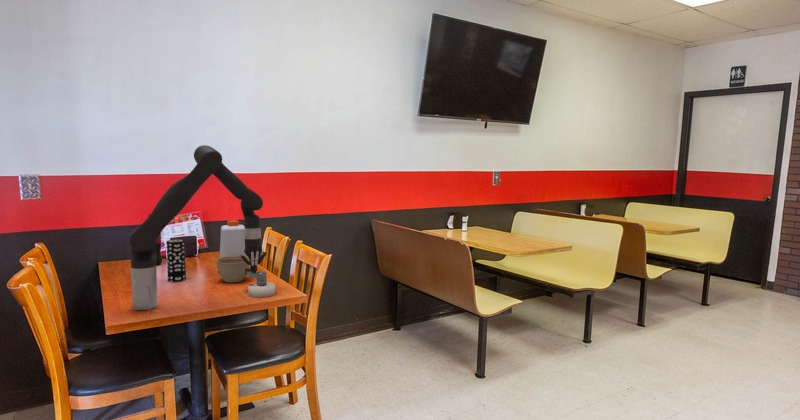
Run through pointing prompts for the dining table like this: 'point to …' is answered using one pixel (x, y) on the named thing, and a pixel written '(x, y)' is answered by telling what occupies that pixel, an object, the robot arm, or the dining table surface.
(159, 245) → the cola bottle
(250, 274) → the capstan lever
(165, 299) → the dining table surface
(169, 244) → the spotted tube
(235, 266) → the planter bowl
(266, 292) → the stand
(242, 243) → the plastic bottle
